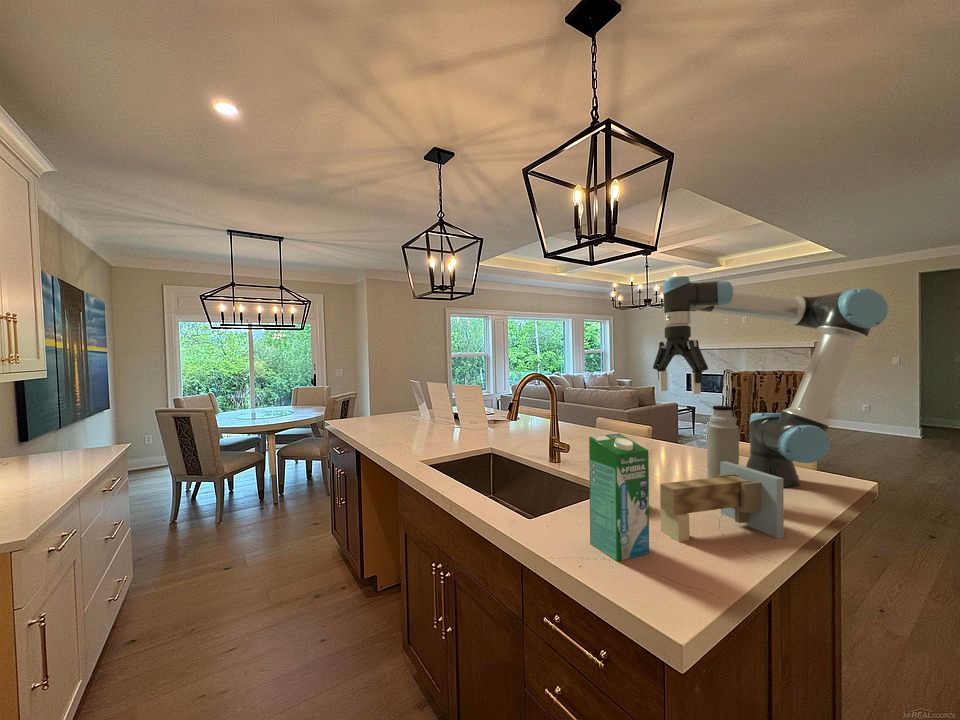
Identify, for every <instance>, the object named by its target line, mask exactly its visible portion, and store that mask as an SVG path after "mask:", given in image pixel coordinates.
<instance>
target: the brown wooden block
mask: <svg viewBox="0 0 960 720" xmlns="http://www.w3.org/2000/svg"><path fill="white" fill-rule="evenodd" d="M746 482H749V481H748V480H745V479H742V478H739V477H736V476H727V477H717V478H708V477H707V478H699V479H689V480H682V481H681V480H680V481H672V482H663V483H660V485H659V488H660V489H659V490H660V492H659V493H660V494H659V495H660V497H659V498H660V499H659V500H660V501H659V503H660V510H661V509H663V510H665V511H667V512H669V513H671V514H673V515H678V514H686V513H687V514H692V513H701V512H707V511H714V510H715V511H716V510H721V509H724V508H732V507H739V506H741V483H746Z"/></svg>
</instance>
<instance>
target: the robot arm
mask: <svg viewBox="0 0 960 720" xmlns="http://www.w3.org/2000/svg"><path fill="white" fill-rule="evenodd" d="M662 290H663V292H662V295H663V310H664V313H663V315H664V318H663V319H664V321H663V322H664V326H666V327H665V328H664V339H666V341H660V342H659V343H658V344H659V345H658V351H657V353H656V357H655V359H654V362H653V363H654V364H653V365H652V366H653V367H652V369H653V370H656V371H657V376H658V377H657V378H658V383H659V386H658V388H659V392H665V391H668V390H669V389H668V371H667V367H668V366H669V364H670V363H671V361H672V359H673V358H674V357H675V356H682V357H683V358H684V360H685V361H686V362H687V364H688V366H689V367H690V369H691V370H692V372H691V374H690V375H691V377H690V378H691V395H701V394H702V383H703V372H704V371H708V369H709V367H708V364H707V363H706V362H707V361H706V359H705V358H704V355H703V353H702V351H701V348H700V346H699V340H698V339H690V337H692V333H691V331H692V329H691V326H690V325H691V323H692V322H691V321H692V320H691V312H697V311H698V312H709V313H716V314H717V313H719V314H725V315H726V314H727V315H734V316H741V317H743V316H744V317H749V318H758V319H765V320H766V319H768V320H775V321H784V322H787V323H788V324H789V325H792V326H798V327H803V328H804V327H805V328H810V329H816V330H817V331H818V333H819V334H820V336H819V339H818V341H817V344H816V346H815V348H814V350H813V353H812V355H811V358H810V360H809V362H808V364H807V367H806V370H805V372H804V373H803V377H802V379H801V381H800V384H799V386H798V388H797V390H796V392H795V395H794V398H793V400H792V403H791V405H790V406H789V407H787V408H785V409H782V410H781V412H753V413H751V414H750V417H749V422H748V423H749V452H750V453H749V458H748V460H747V463H746V466H745V467H747V468H750V469H754V470H757V471H760V472H764V473H767V474H770V475H774V476H777V477H780V478H783V488H792V487H794V488H795V487H797V486H799V485H800V477H799V475H798V473H797V470H796V467H795V464H794V462H797V463H800V464H811V463H814V462H815V463H816V462H818V461H820V460H821V459H823V458H824V457H825V456H826V455H827V454H828V452H829V450H830V447H831V441H830V439H829V435H828V434H827V431H828V429H829V426H830V425H829V423H828V422H827V420H826V416H827V413H828V412H829V409H830V406H831V404H832V402H833V401H834V397H835V395H836V393H837V391H838V388H839V386H840V384H841V382H842V380H843V377H844V374H845V372H846V370H847V368H848V366H849V363H850V360H851V358H852V356H853V354H854V352H855V349H856V348H857V344H858V343H860V342H863V341H865V340H867V338H868V335H869V334H870V331H871V329H872V328H874V327H877V326H879V325H881V324H883V322H885V320H886V319H887V316H888V314H889V305H888V303H887V300H885V298H884V297H885V296H883V295H882V294H881V293H880V292H878V291H877V290H874V289H871V288H865V287H860V288H859V287H858V288H849V289H846V290H843V291H840V292H834V293H829V294H824V295H816V296H800V295H799V296H798V295H797V296H795V297H794V298H792V297H791V298H790V297H782V296H774V295H773V296H771V295H763V294H762V295H761V294H756V293H755V294H754V293H753V294H752V293H745V292H744V293H743V292H737V291H736V292H735V291H734V287H733V284H732V283H731V282H730V281H727V280H725V281H722V280H721V281H720V280H717V281H704V282H691V280H690V277H688V276H683V275H680V276H679V275H678V276H677V275H676V276H672V277H667V278H666V279H664V281H663V289H662Z"/></svg>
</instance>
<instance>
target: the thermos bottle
mask: <svg viewBox="0 0 960 720" xmlns="http://www.w3.org/2000/svg"><path fill="white" fill-rule="evenodd" d="M712 410H713V412H712V415H711V416H710V417H709V423H707V424H706V426H707V427H706V431H707V433H706V435H707V436H706V439H707V443H706V445H707V446H706V447H707V458H706V459H707V460H706V461H707V479H708V478H717V475H720V462H724V461H727V462H730V463H734V464H737V465H740V462H739V461H740V426H739V425H737V422H738V421H737V419H736V418H735V417H734V416H733V407H732V406H728V405H714V406H712Z"/></svg>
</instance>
